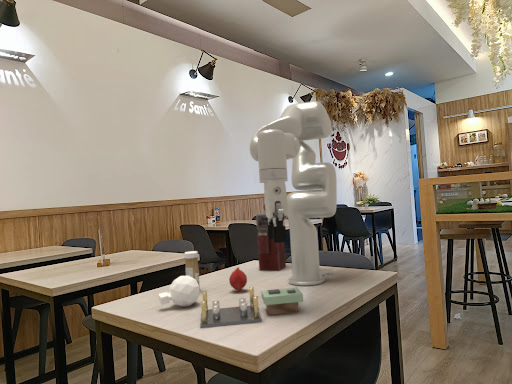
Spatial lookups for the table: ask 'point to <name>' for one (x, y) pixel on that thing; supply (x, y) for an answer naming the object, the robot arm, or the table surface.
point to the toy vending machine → (268, 247)
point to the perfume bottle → (181, 292)
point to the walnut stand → (282, 308)
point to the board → (281, 296)
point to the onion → (238, 279)
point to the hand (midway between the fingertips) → (276, 240)
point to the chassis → (230, 312)
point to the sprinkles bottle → (192, 265)
